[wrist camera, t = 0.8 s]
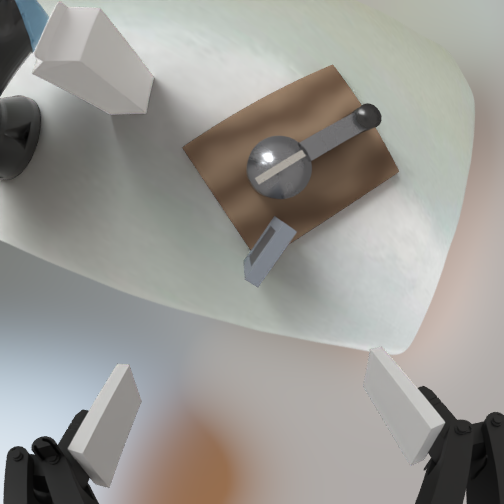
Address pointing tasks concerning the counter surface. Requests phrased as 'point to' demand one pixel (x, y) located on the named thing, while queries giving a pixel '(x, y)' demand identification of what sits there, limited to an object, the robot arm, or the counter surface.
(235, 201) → the stand board
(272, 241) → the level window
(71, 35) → the milk
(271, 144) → the crank handle
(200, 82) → the counter surface
